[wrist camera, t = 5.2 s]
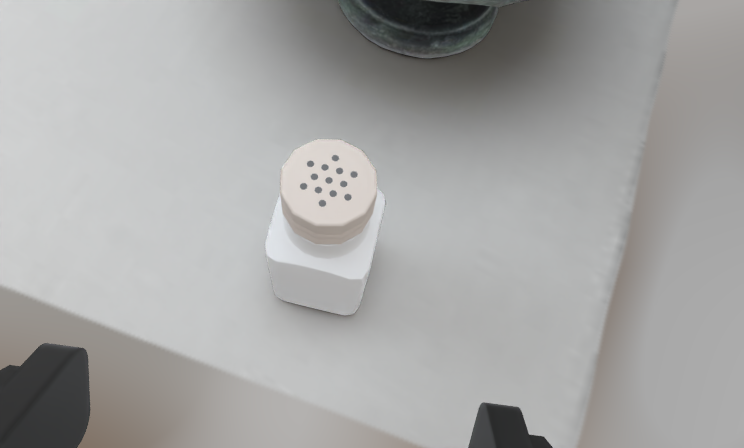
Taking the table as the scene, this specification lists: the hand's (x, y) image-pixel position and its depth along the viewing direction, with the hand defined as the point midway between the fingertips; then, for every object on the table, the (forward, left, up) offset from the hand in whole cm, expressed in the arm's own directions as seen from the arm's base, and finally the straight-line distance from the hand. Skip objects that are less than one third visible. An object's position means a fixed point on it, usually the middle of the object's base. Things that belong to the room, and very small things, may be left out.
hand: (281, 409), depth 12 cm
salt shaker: (+4, +7, -14) cm, 16 cm away
